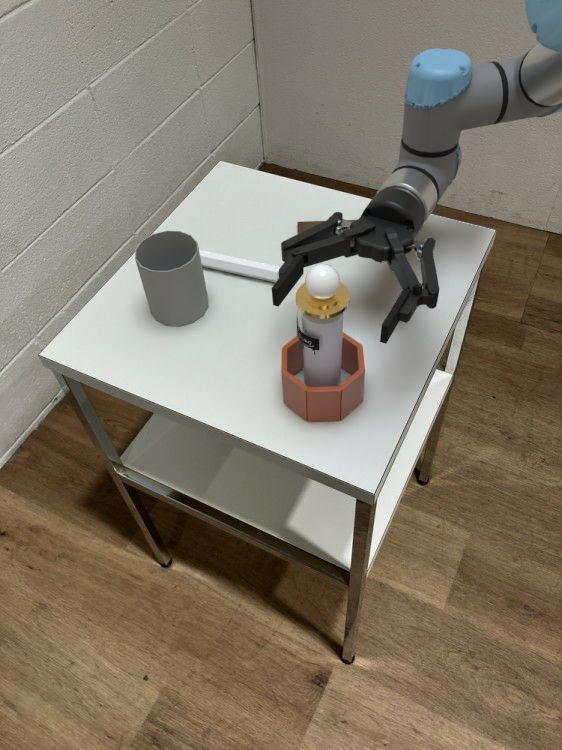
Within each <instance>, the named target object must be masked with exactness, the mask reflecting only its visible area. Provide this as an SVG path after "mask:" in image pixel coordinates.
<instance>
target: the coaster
mask: <svg viewBox="0 0 562 750" xmlns="http://www.w3.org/2000/svg"><path fill="white" fill-rule="evenodd" d="M346 220H347V221H350V222H353V221H355V220H356V219H346ZM324 221H325V220H314V221H313V220H310V221H309V220H307V221H297V234H299V233H301V232H304V231H306V230H308V229H310V228H312V227H314V226H316V225H318V224H320V223H322V222H324ZM352 246H353V244H352V241H351V243H350V247H352Z"/></svg>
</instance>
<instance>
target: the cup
mask: <svg viewBox="0 0 562 750" xmlns="http://www.w3.org/2000/svg"><path fill="white" fill-rule="evenodd" d="M199 247H200V246H199V242H198V241H197V240H196V239H195V238H194V237H193V235H192V234H189V233H187V232H183V231H181V230H163V231H159V232H155V233H153V234H151V235H149V236H147V237H146V238H144V239H142V240H141V241H140V243H138V245H137V247H135V250H134V252H135V253H134V261H135V265H136V267H137V271H138V274H139V278H140V280H141V284H142V288H143V291H144V294H145V299H146V301H147V305H148V308H149V312H150V314H151V315H152V317H153V319H154V320H155V321H156V322H158V323H159V324H162V325H164V326H167V327H183V326H187V325H189V324H193V323H194V322H196V321H198V320H199V319H201V318H202V317H204V315H205V313H206V312H207V310H208V308H209V295H208V290H207V284H206V279H205V275H204V270H203V268H204V267H202V263H201V258H200V253H199V250H200V248H199Z"/></svg>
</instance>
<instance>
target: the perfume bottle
mask: <svg viewBox="0 0 562 750" xmlns="http://www.w3.org/2000/svg"><path fill="white" fill-rule="evenodd" d="M350 298H351V294H350V291H349V289H348V287H347V286H346V284H344V283H342V282H341V278H340V274H339V272H338V271H337V270H336V268H334V267H333V266H332V265H330V264H326V263H318V264H315V265H314V266H311V268H310V269H309V270H308V272H307V273H306V276H305V281H304V282H303V283H302V284H301V285H300V286H299V287H298V288H297V289H296V292H295V305H296V307H297V309H298V311H297V312H296V336H297V335H299V336H297V338H299V340H300V339H301V337H302V339H301V340H300V341H301V343H302V344H303V361H304V368H303V383H304V384H305V385H306V386H308V387H332V386H340V385H341V384H342V369H341V366H342V338H343V332H344V313H345V312H346V310H347V309H348V307H349V306H350V303H351V302H350V301H351V299H350ZM299 311H300V312H301V326H302V327H301V328H300V325H299V321H298V313H299ZM301 329H302V330H301Z"/></svg>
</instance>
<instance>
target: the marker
mask: <svg viewBox="0 0 562 750" xmlns="http://www.w3.org/2000/svg"><path fill="white" fill-rule="evenodd" d="M199 253H200V258H201V263H202V268H207V269H210V270H211V269H212V270H216V271H220V272H225V273H230V274H234V275H239V276H244V277H249V278H253V279H257V280H261V281H266V282H270V283H274V284H275V283H276V282H277V280H278V279H279V269H280V267H281V266H278V265H274V264H269V263H263V262H260V261H254V260H249V259H245V258H241V257H235V256H232V255H226V254H221V253H217V252H213V251H207V250H202V249H199Z"/></svg>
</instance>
